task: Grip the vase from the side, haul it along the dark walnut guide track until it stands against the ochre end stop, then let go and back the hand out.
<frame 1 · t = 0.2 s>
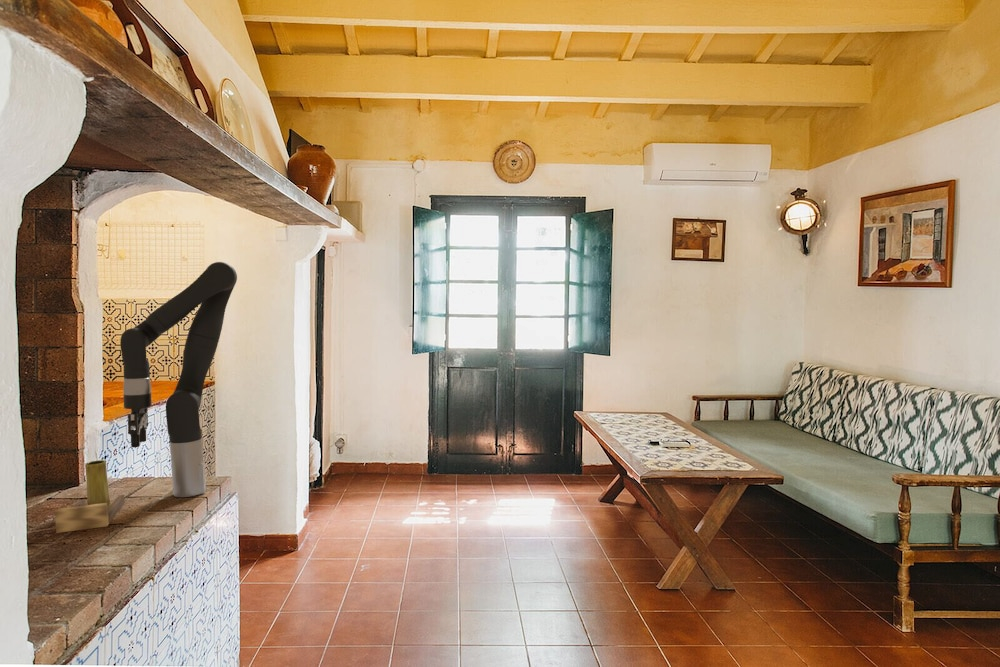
hand: (138, 444, 201), 17 cm above the worktop, tool pointing down, fingers open, 8 cm apart
track: (92, 516, 187), on the worktop
vase: (99, 510, 193), on the worktop
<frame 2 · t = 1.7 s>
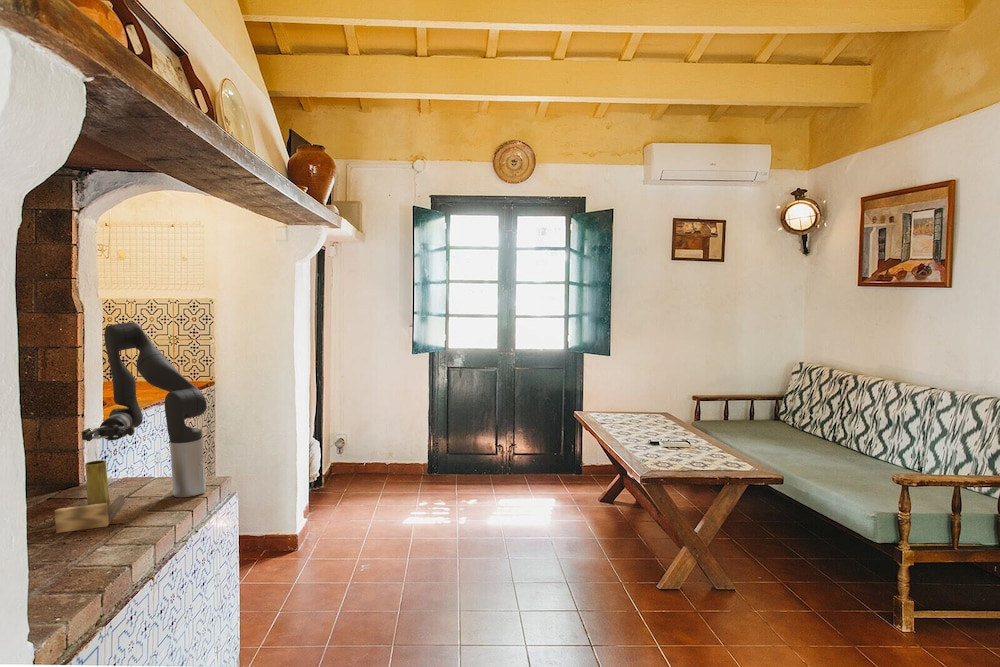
hand: (103, 436, 203), 20 cm above the worktop, tool horizontal, fingers open, 8 cm apart
nothing on the worktop moved.
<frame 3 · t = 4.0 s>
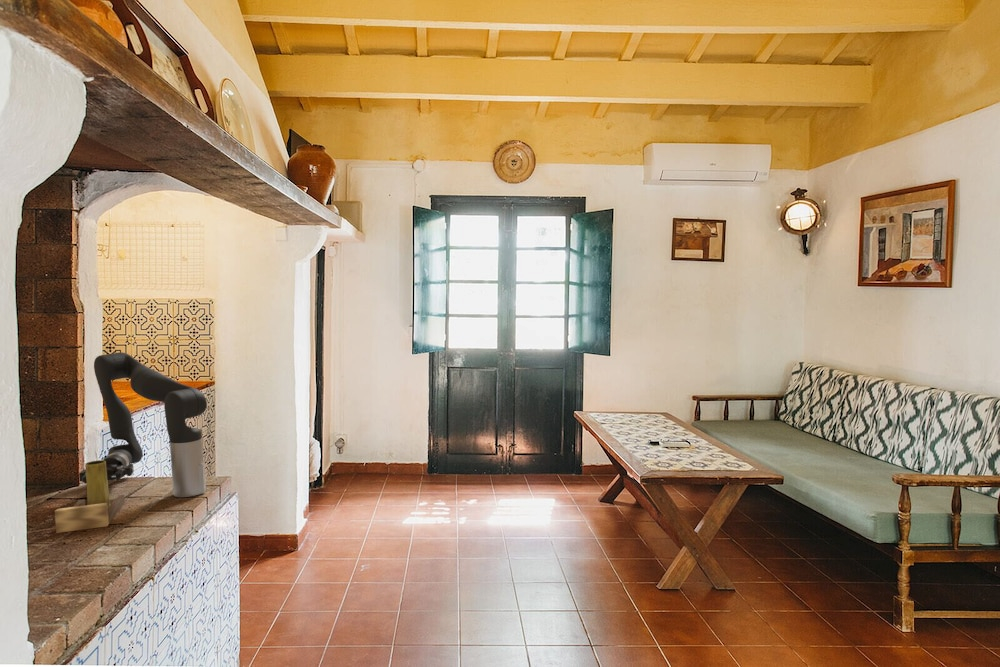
hand: (101, 478, 197), 8 cm above the worktop, tool horizontal, fingers open, 8 cm apart
nothing on the worktop moved.
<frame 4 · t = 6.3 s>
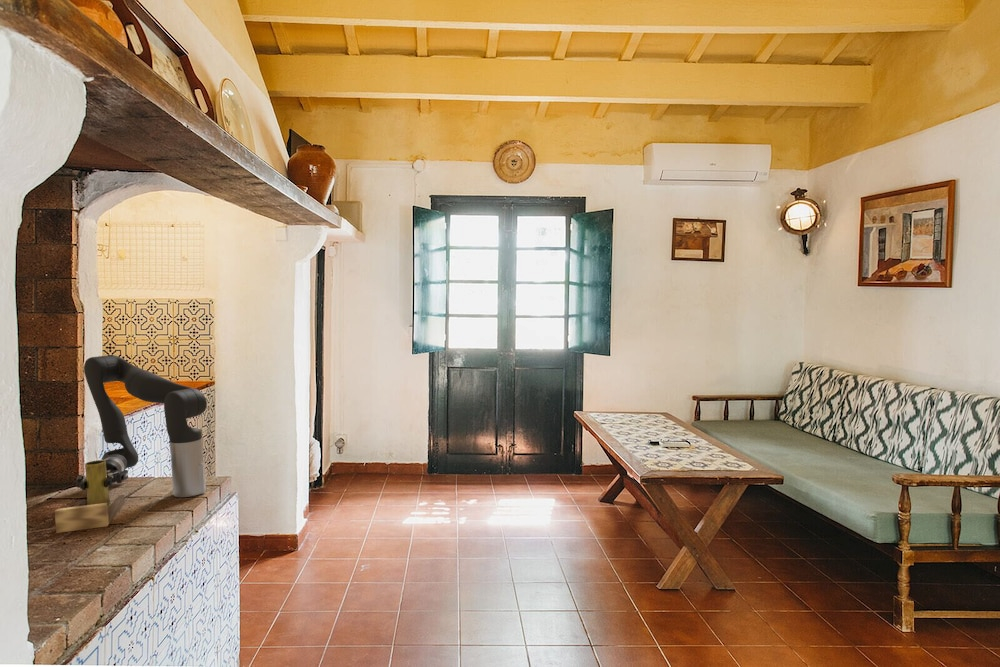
hand: (94, 485, 190), 8 cm above the worktop, tool horizontal, fingers closed on vase, 5 cm apart
vase: (99, 509, 193), on the worktop, touching gripper
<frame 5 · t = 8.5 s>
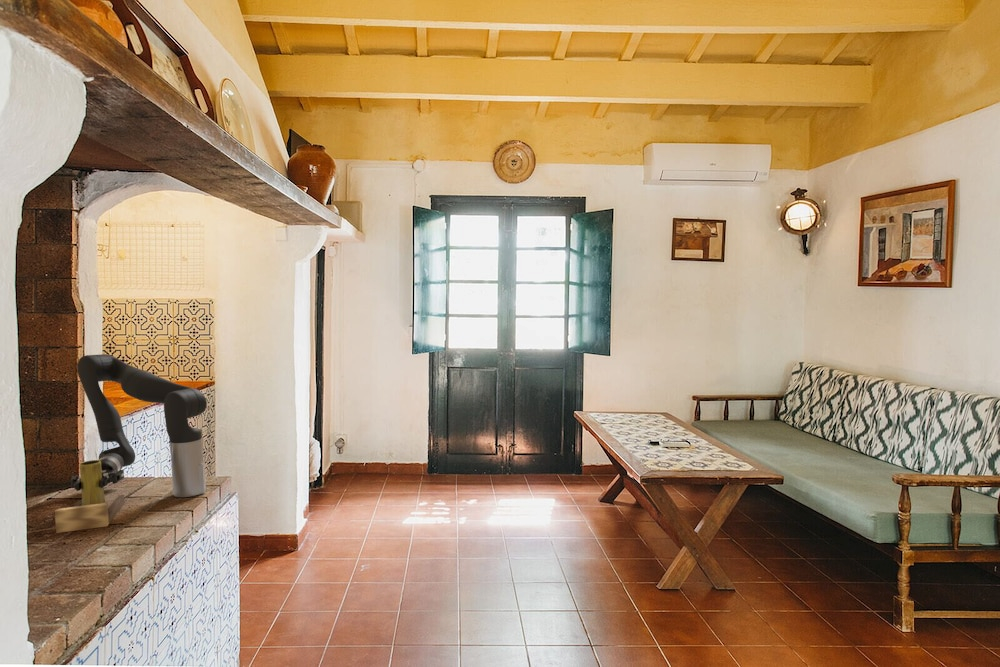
hand: (89, 485, 186), 9 cm above the worktop, tool horizontal, fingers closed on vase, 5 cm apart
vase: (94, 511, 189), point 1 cm above the worktop, touching gripper
when the fingers open (8 cm above the worktop, at t = 11.0 s): vase stays where it is, on the worktop.
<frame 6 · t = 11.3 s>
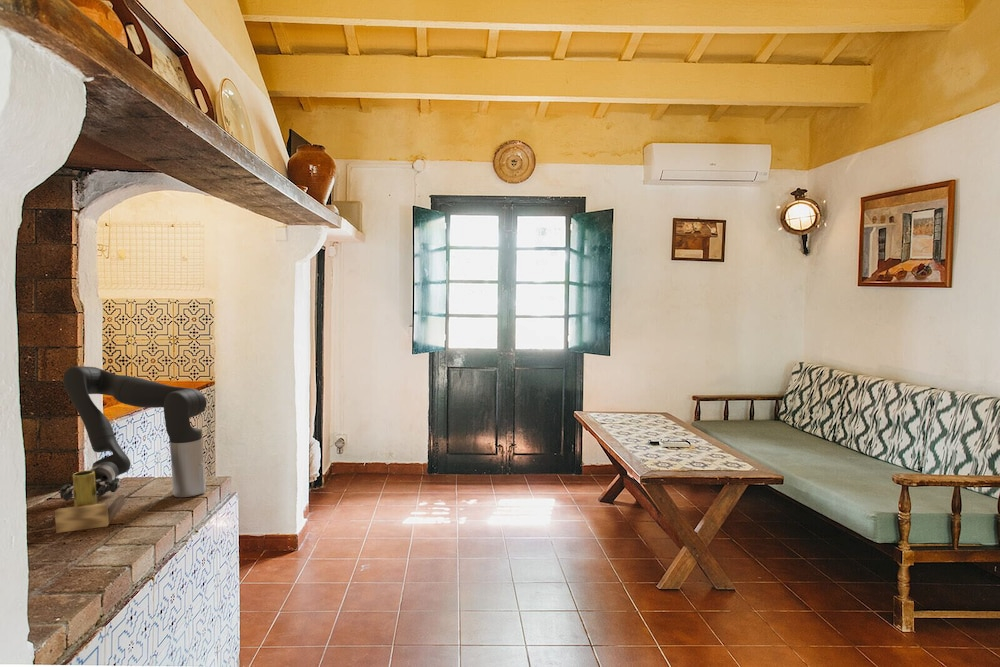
hand: (83, 495, 179), 9 cm above the worktop, tool horizontal, fingers open, 7 cm apart
vase: (87, 523, 182), on the worktop
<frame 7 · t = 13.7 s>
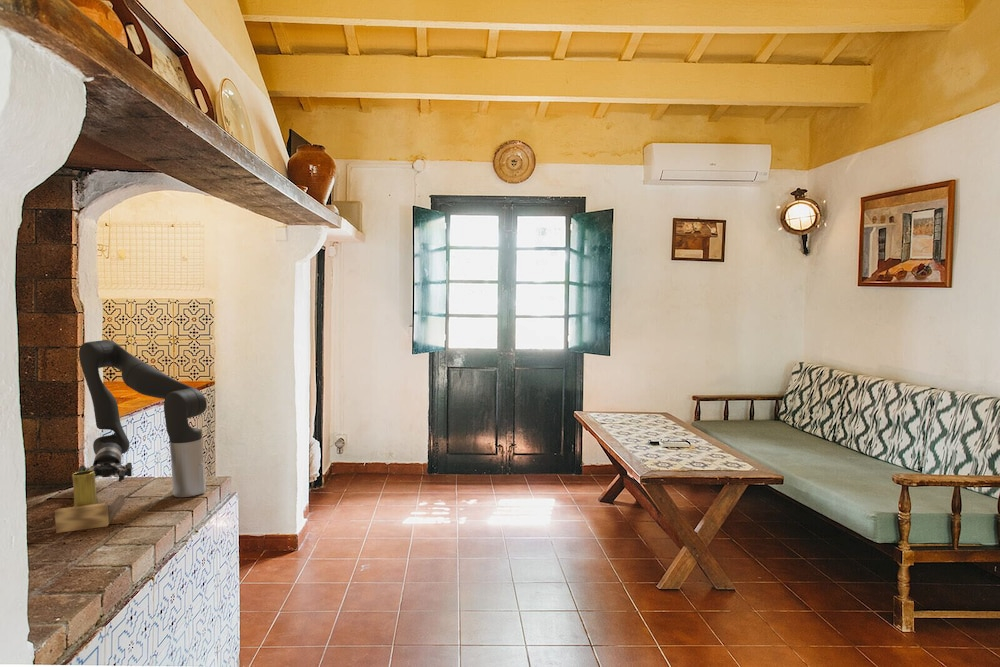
hand: (103, 479, 193), 9 cm above the worktop, tool horizontal, fingers open, 8 cm apart
nothing on the worktop moved.
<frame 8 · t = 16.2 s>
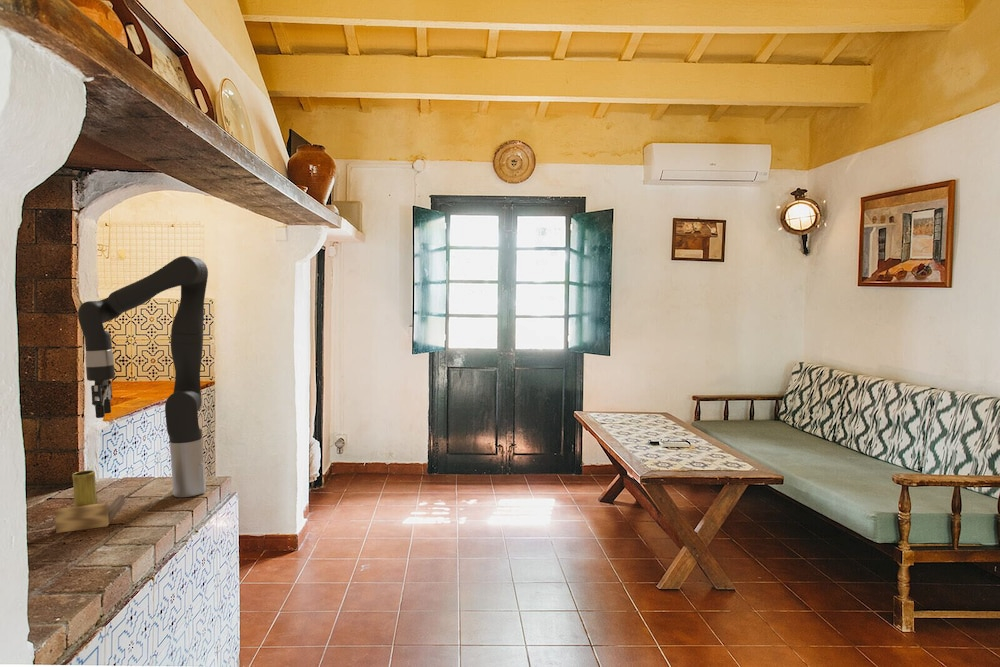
hand: (103, 415, 204), 26 cm above the worktop, tool pointing down, fingers open, 8 cm apart
nothing on the worktop moved.
at the end: vase 0.7 cm from the target spot, on the worktop; vase tilted 1°; the gripper is holding nothing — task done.
